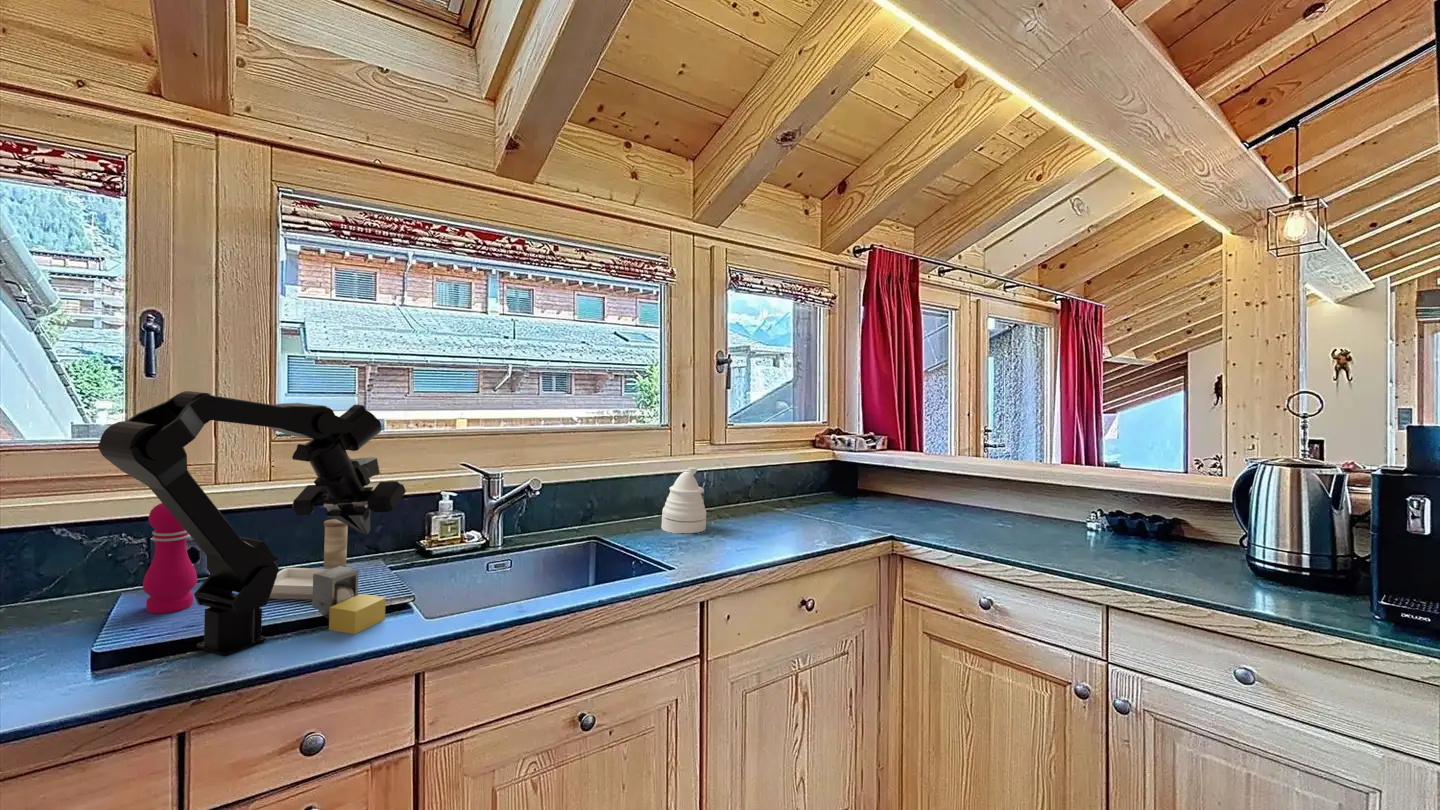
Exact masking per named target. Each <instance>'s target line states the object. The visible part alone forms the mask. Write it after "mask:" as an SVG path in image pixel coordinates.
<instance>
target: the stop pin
mask: <svg viewBox="0 0 1440 810" xmlns="http://www.w3.org/2000/svg"><path fill="white" fill-rule="evenodd" d="M323 526H324V546H323V548H324V549H323V569H331V568H335V567H338V566H343V567H347V559H348V558H347V556H348V555H347V554H348V551H347V550H348V527H349V525H347V524H345V523H343V522H341V521H339V520H336V519H334V518H332V519H327V520H325V521H323Z"/></svg>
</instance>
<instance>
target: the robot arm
mask: <svg viewBox="0 0 1440 810" xmlns="http://www.w3.org/2000/svg"><path fill="white" fill-rule="evenodd" d="M210 421H216V422H223V423H232V424H233V423H234V424H240V425H249V426H257V427H258V426H259V427H265V428H268V429H271V430H273V431H275V432H278V433H280V434H284V435H288V436H290V437H297V438H298V437H299V438H305V439H309V441H308V442H306V443H305V444H302V443H301V444H300V443H297V446H296V449H295V451H294V452H293V454H292V456H291V459H292V460H294V461H300V462H308V463H309V464H310V466H311V467H312V469H313V471H314V473H315V475H316V479H315V480H314V481H313V483H314V484H308V485H306V486H305V488H304V489H303V490H302V491H301V492H300V493H299V494H298V495H297V497H295V499H293V502H292V509H293V510H294V513H295V514H296V516H311V515H312V514H313V512H314V511H315V508H314V506H313V505H314V504H323V507H324V508H326V510H327V513H326V516H327V517H328V518H332V519H336V520H339V521H341V522H343V523H345V524H347V525H348V527H350V528H352V529H354V530H356V531H358V532H359V533H362V534H363V535H368V534H369V532H371V511H372V512H374V513H390V512H391V511H394V509H395V508H396V507H397V505H398V504H399V503H400V501H401V499H402V498H403V497H404V495H405V494H406V492H407V490H406V488H405V486H404V484H403V483H402V481H398V480H394V481H393V480H392V481H379V482H378V484H377V485H376V487H375V488H374V486H369V484H370V483H371V478H372V477H374V476H377V475H380V474H381V472H380V467H379V461H378V457H376V456H373V457H372V456H371V457H358V458H351V457H350V456H349V454H348V452H347V451H350V452H357V451H358V450H360V449H361V448H363V447H364V446H365V445H366V444H368V443H369V442H370V441H371V440H372V439H374V438H375V437H376V436H377V435H378V434H380V433H381V431H382V430H383V428H382V424H381V421H380V420H379V418H377V416H376V415H375V414H373V413H372V412H371V411H368V409H367V410H366V407H365V405H362V404H353V405H352V406H350V408H349V409H348V410H347V411H345V412H344V413H342V414H341V415H340V416H338V415H335V413H334V409H333V408H332V407H330V406H327V405H322V404H321V405H320V404H311V403H303V402H302V403H301V402H291V403H289V402H288V403H277V404H271V403H266V402H265V403H263V402H256V401H251V400H245V399H238V398H231V397H223V396H217V395H213V394H212V393H209V392H202V391H194V390H193V391H189V390H185V391H181V392H180V393H177V394H175V395H174V396H173V397H171V398H170V399H167V400H166V401H164V402H162V403H160V404H157V405H155V406H152V407H150V408H148V409H145V410H143V411H140V412H139V413H138V412H137V414H135V415H133V416H131V417H130V418H128V419H126V420H123V421H117V422H115V423H113V424H110V426H109V427H107V428H106V429H105V430H104V431H103V433H102V435H101V437H100V440H99V442H98V451H99V452H100V454H101V456H103V457H104V459H106V460H107V461H108V462H110V463H111V464H112V465H113V466H115V467H116V468H117V469H118V470H120V471H122V472H123V473H124V474H126V475H128V476H130V477H132V478H133V479H135V480H137V481H139V482H140V483H143V484H144V485H146V486H147V487H148V488H149V489H150V490H151V491H152V493H153V494H154V495H155V496H156V498H157V499H158V500H159V501H160V502H161V503H163V504H164V505H165V507H166V508H167V509H168V510H169V511H170V512H171V514H172V515H173V516H174V517H175V518H176V520H177V521H178V522H179V523H180V524H181V525H182V527H183V528H184V529H185V530H186V531H187V532H188V534H189V535H190V536H189V537H191V538H192V539H193V541H194V542H195V543H196V544H197V545H198V546H199V548H200V549H201V550H202V551H203V552H204V554H205V555H206V570H207V571H208V573H209V576H207V578H206V579H205V581H204V582H203V583H202V584H201V585H200V586H199V587H198V588H197V589H196V591H195V592H194V593H193V597H195V601H196V604H197V605H198V606H203V607H204V606H205V607H208V608H205V609H204V621H203V622H204V626H203V627H204V629H203V632H204V635H203V641H202V642H197V643H196V648H197V649H202V650H205V651H207V652H211V653H213V654H218V655H220V656H228V655H231V654H233V653H236V652H238V651H239V652H240V651H241V650H245V649H247V648H250V647H253V646H255V645H257V644H260V643H263V642H265V641H267V637H266V636H265V635H261V634H262V626H263V623H262V622H263V609H262V608H263V607H265V606H267V605H268V603H269V600H270V598H269V597H270V594H271V592H272V589H273V586H274V583H275V580H276V577H277V573H278V572H279V571H280V569H279V566H278V564H277V562H276V561H278V560H279V557H277V556H275V555H274V554H273V553H272V552H271V550H270V548H269V546H268V545H267V544H266V542H265V541H263V540H258V539H253V538H249V537H248V538H247V537H242V536H240V535H239V534H238V533H237V532H236V530H235V528H234V527H232V525H231V524H230V522H229V521H228V520H227V519H226V518H225V516H223V514H222V512H221V511H220V510H219V509H218V507H217V506H216V505H215V504H214V502H213V501H212V500H211V498H209V496H208V495H207V493H205V491H204V489H202V487H201V486H200V485H199V483H197V480H195V478H194V477H193V476H192V474H191V473H190V472H189V470H188V453H187V451H186V449H185V447H186V446H187V445H188V444H190V443H191V442H193V441H194V440H195V439H196V438H197V436H198V435H199V434H200V432H201V430H202V429H203V428H204V426H205V425H206V424H208V423H209V422H210Z"/></svg>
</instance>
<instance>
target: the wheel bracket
mask: <svg viewBox="0 0 1440 810" xmlns="http://www.w3.org/2000/svg"><path fill="white" fill-rule="evenodd" d="M359 573H360V572H359V569H355V568H351V567H347V566H346V567H343V566H338V567H335V568H331V569H328V570H325V571H321V572H318V573H315V574H313V598H312V599H311V600H312V603H311V604H312V605H311V608H312V609H315V610H318V612H319V613H320V614H321V615H322V617H324V616H325V617H326V618H325V617H324V618H325V619H327V620H329V614H330V607H332V606H334V605H336V604H338V603H341V602H343V601H345V600H348V599H350V598H352V597H354V596H357V595H359Z"/></svg>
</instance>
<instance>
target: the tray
mask: <svg viewBox="0 0 1440 810" xmlns="http://www.w3.org/2000/svg"><path fill="white" fill-rule="evenodd" d="M325 570H328V569H324V568H311V567H310V568H309V567H302V568H301V567H285V568H282V569H281V570H279V572H278V573H277V577H276V580H275V583H274V586H273V589H272V592H271V594H270V597H269V599H275V600H276V599H279V600H281V599H282V600H283V599H284V600H312V598H313V574H315V573H318V572H321V571H325Z"/></svg>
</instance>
